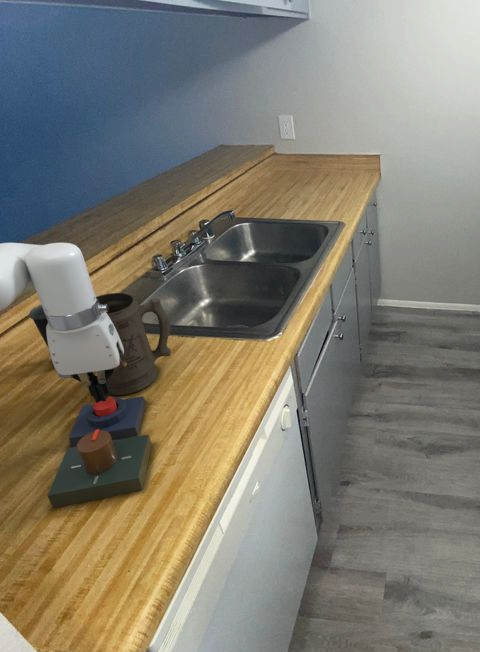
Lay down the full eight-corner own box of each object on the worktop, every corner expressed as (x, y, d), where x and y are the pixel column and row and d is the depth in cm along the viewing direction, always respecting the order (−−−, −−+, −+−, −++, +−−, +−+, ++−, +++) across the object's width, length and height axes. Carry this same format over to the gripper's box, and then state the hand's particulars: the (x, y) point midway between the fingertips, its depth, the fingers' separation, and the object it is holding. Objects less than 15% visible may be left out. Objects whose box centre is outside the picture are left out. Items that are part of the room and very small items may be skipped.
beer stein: (109, 404, 97) (90, 320, 89) (91, 380, 103) (72, 299, 95) (183, 375, 108) (173, 297, 99) (163, 355, 114) (151, 280, 105)
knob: (113, 470, 79) (105, 447, 77) (81, 476, 78) (71, 453, 75) (120, 449, 83) (113, 426, 81) (89, 454, 82) (81, 431, 79)
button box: (71, 446, 87) (65, 430, 85) (85, 413, 95) (79, 398, 93) (137, 435, 90) (133, 419, 88) (146, 404, 98) (141, 389, 96)
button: (93, 418, 89) (90, 411, 88) (98, 405, 92) (95, 398, 91) (114, 415, 90) (112, 408, 89) (118, 402, 93) (116, 395, 92)
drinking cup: (42, 361, 109) (12, 284, 99) (78, 346, 114) (53, 272, 105) (58, 374, 105) (27, 295, 96) (94, 357, 110) (69, 282, 101)
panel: (53, 508, 76) (46, 494, 74) (72, 460, 84) (66, 447, 83) (142, 490, 79) (138, 477, 78) (152, 446, 88) (148, 433, 86)
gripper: (127, 298, 86) (149, 378, 94) (31, 308, 82) (64, 391, 90) (118, 320, 79) (143, 403, 88) (13, 332, 75) (50, 418, 84)
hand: (103, 396), depth 89 cm, fingers closed
